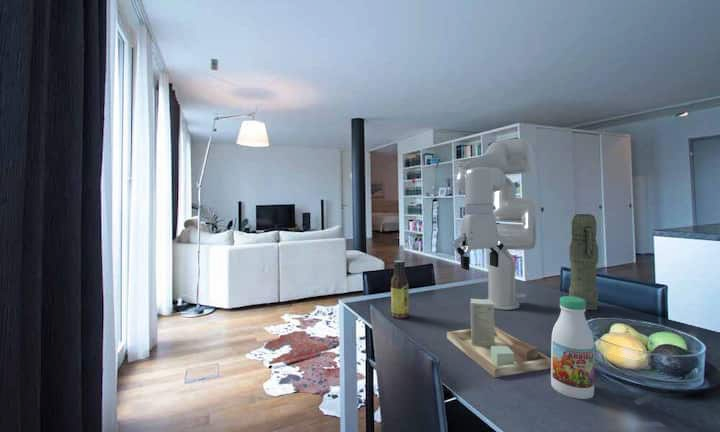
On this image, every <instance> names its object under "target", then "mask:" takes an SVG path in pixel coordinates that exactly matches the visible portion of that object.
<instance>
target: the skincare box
mask: <svg viewBox="0 0 720 432" xmlns="http://www.w3.org/2000/svg"><path fill="white" fill-rule="evenodd" d="M494 326H495V308H494V302H493V300H489V299H487V298H485V299H483V298H470V329H471V343H472V345H477V346H487V347H491V346H495V331H494Z"/></svg>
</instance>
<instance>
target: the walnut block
mask: <svg viewBox="0 0 720 432" xmlns="http://www.w3.org/2000/svg"><path fill="white" fill-rule="evenodd" d="M538 349H539V347H536V346H534V345H531V344H530V343H528V342H525V341H521V343H517V344H513V345H512V352H513V353H514V361H515V362H517V363H520V362H527V361H533V360H538V351H539V350H538Z"/></svg>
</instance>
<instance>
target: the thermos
mask: <svg viewBox="0 0 720 432" xmlns="http://www.w3.org/2000/svg"><path fill="white" fill-rule="evenodd" d="M596 237H597V220H596V218H595V215H593V214H591V213H588V214H587V213H582V214H581V213H580V214H578V213H576V215H574V216H573V217H572V221H571V242H570V244H569V261H570V286H569V287H568V296H573V297H578V298H582V299H584V300H585V301H586V308H585V309H586V310H596V311H597V310H598V303H599V291H598V289H597V266H598V263H599V246H598V244H597V238H596Z"/></svg>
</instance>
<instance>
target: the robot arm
mask: <svg viewBox="0 0 720 432" xmlns="http://www.w3.org/2000/svg"><path fill="white" fill-rule="evenodd" d="M534 156H535V155H534V152H533V149H532V146H531V144H530V142H529V141H528V140H527V139H526V138H521V137H520V138H519V137H518V138H512V139H511V138H510V139H509V138H508V139H502V140H497V141H496V140H495V141H494V142H492V143H491V144H489V146H488V147H487V148H486V151H485V152H484V154H482V155H479V156H478V157H475V158H472V159H471V160H468V161H467V162H465V163H464V164H463V165H461V167H460V169H459V170H458V172H457V174H456V177H455V178H456V179H455V183H456V184H455V185H456V188H457V189H458V191H459V192H461V193H463V194H465V214H463V215H462V219H461V225H460V236H458V237H457V238H455V239H454V240H452V245H453V247H454V250H455V251H456V253H458V255H459V256H460V266H461V269H463V270H465V271H469V270H470V256H468V255H469V254H470V253H471V251H472V250H474V251H475V250H483V249H486V250H487V256H488V257H487V259H488V265H487V269H488V271H487V273H488V277H487V278H488V279H487V282H488V283H487V285H488V286H487V287H488V290H487V291H488V297H487V298H486V299H489V300H493V302H494V309H497V310H504V311H505V310H506V311H509V310H510V311H511V310H517V309H519V308H520V302H519V300H525V299H526V297H527V296H526V294H525V293H522V294H521V293H519V294H518V293H517V292H516V261H515V257H514V256H513V255H512V253H511V252H510V251H509V250H517V251H518V250H521V251H531V250H533V249H535V248H536V244H537V237H538V236H537V233H538V231H537V228H538V207H537V203H536V201H535V199H533V198H532V197H517V186H516V184H515V183H514V182H513V180H511V179H510V178H509V177H508V176H507V175H520V174H521V175H522V174H523V175H524V174H528V173H529V174H530V173H531V172H532V171H533V170H534V168H535V157H534ZM497 222H501V223H497ZM502 222H503V223H502ZM513 223H514V224H513ZM515 223H522V224H515Z"/></svg>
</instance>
